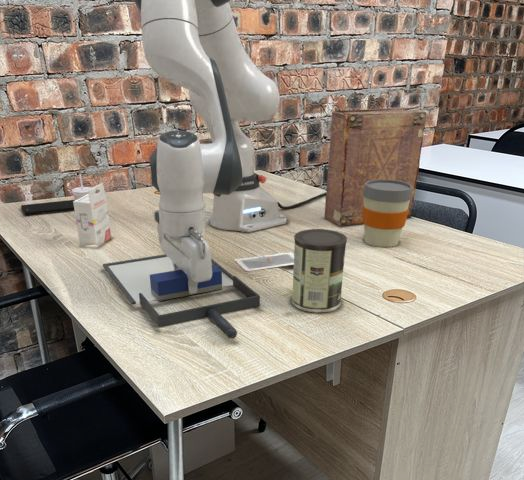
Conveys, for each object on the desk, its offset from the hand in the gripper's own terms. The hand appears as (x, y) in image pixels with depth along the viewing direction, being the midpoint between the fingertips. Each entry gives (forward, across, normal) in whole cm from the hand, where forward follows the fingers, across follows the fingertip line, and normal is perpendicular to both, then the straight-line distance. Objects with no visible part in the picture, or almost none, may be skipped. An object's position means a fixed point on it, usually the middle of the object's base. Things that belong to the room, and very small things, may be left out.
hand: (186, 286), depth 116 cm
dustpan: (+2, -12, 0) cm, 12 cm away
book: (+2, +30, -70) cm, 76 cm away
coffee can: (+2, -14, -23) cm, 27 cm away
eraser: (+1, 0, 0) cm, 1 cm away
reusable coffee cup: (+2, +11, -60) cm, 61 cm away
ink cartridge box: (+3, +42, +9) cm, 43 cm away
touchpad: (+2, +8, -24) cm, 25 cm away
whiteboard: (+2, +10, 0) cm, 11 cm away
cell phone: (+2, +78, +13) cm, 79 cm away
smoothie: (+2, +59, +7) cm, 59 cm away
